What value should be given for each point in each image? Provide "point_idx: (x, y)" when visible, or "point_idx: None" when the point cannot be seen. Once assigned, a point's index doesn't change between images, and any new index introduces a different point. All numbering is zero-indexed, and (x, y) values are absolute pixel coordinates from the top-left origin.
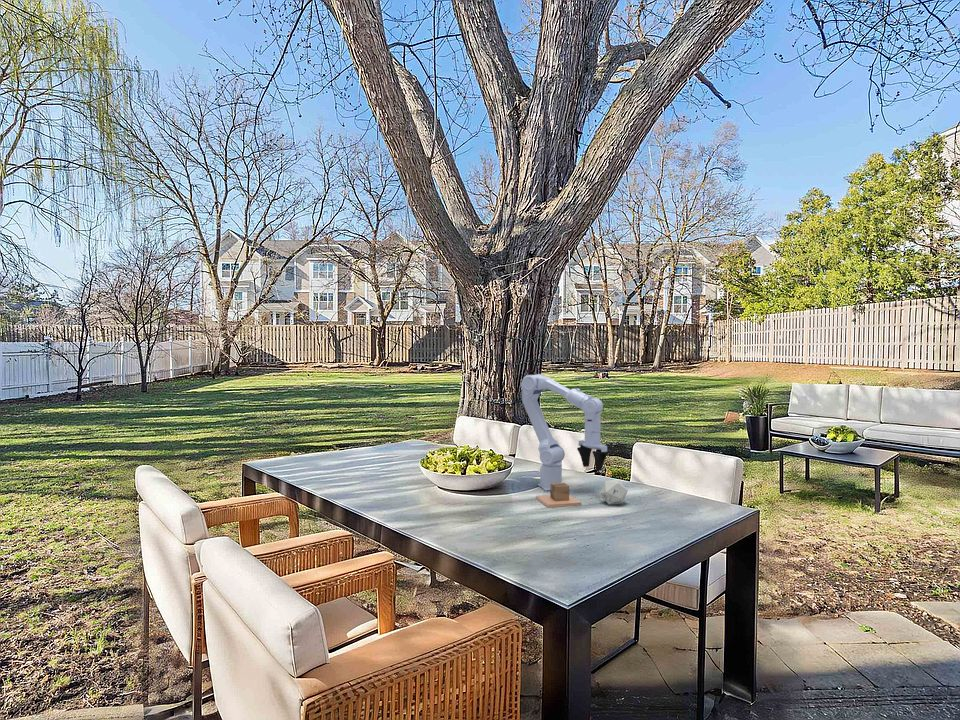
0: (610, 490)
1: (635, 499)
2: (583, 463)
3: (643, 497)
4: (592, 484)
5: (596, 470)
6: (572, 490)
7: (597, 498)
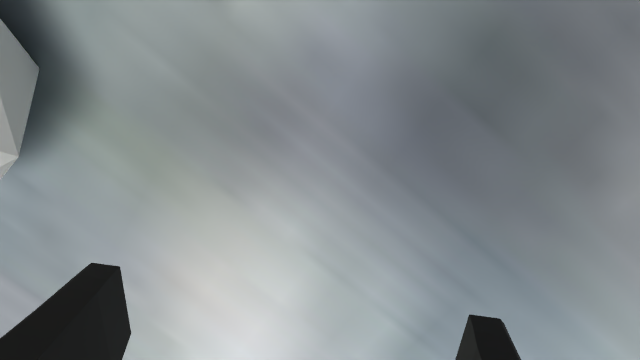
0: None
1: (30, 263)
2: (484, 356)
3: None
4: (605, 341)
5: (107, 267)
6: (600, 41)
7: (166, 35)
